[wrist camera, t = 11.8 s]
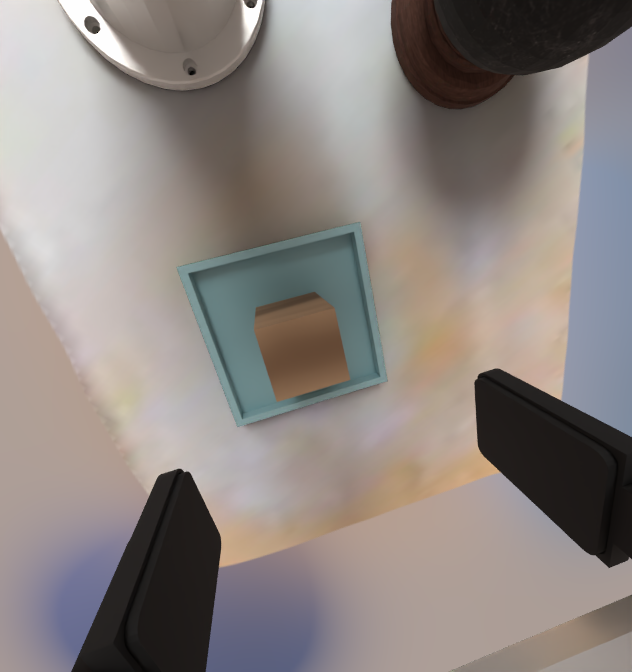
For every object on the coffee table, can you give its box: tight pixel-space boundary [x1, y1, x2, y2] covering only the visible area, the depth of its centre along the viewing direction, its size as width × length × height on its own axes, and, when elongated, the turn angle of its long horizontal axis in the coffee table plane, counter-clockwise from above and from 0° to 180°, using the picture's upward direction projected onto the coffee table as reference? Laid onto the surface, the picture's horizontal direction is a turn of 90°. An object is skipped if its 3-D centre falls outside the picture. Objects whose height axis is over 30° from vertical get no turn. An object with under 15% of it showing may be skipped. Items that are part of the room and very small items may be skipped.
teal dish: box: [177, 222, 388, 427], centre depth 25 cm, size 14×14×2 cm
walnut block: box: [254, 292, 350, 402], centre depth 22 cm, size 5×5×7 cm
